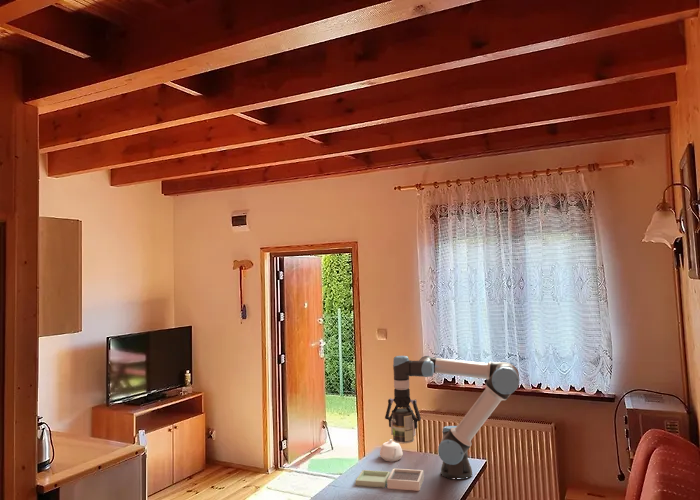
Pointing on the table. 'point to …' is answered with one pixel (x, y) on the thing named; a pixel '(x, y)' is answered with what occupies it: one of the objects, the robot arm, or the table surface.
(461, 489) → the table surface
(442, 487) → the table surface
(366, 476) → the tray
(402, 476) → the plate
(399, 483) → the checker cradle
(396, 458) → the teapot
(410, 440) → the coffee can
